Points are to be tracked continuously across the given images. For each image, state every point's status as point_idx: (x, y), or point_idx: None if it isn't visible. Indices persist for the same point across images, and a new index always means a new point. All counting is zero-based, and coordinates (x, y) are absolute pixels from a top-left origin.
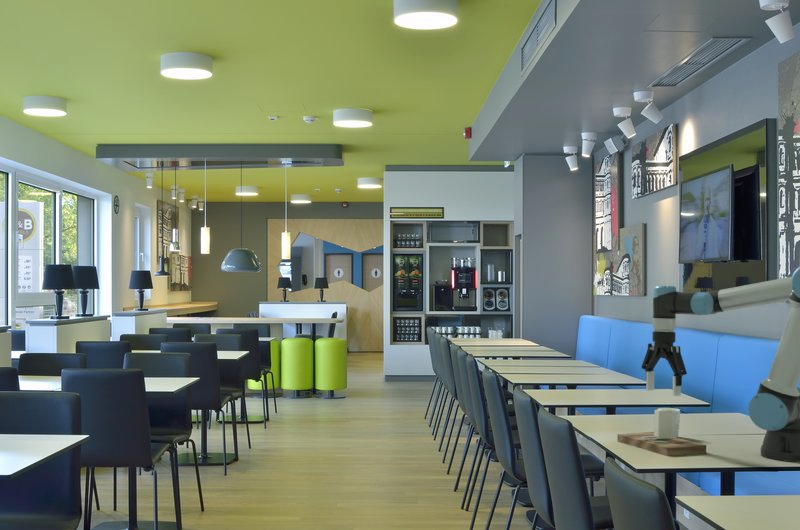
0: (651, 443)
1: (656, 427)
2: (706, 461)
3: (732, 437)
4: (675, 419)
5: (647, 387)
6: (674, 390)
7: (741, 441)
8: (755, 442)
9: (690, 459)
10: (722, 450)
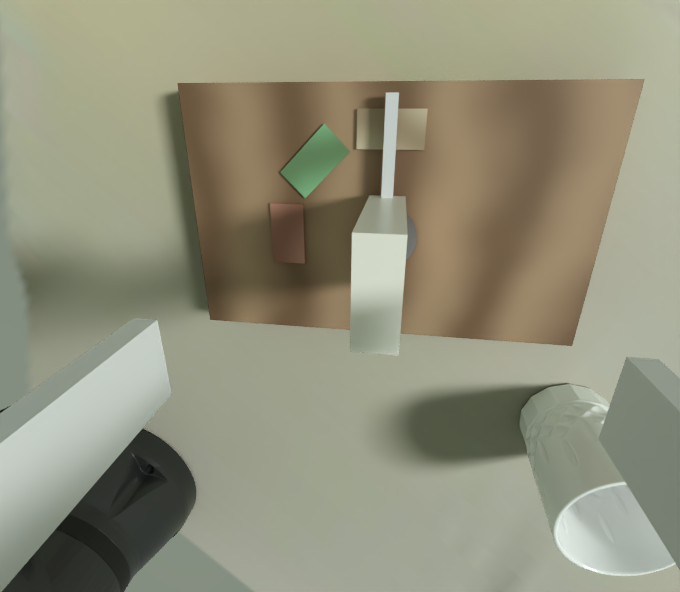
0: (307, 85)
1: (385, 206)
2: (77, 182)
3: (435, 578)
4: (541, 479)
5: (657, 382)
6: (93, 351)
7: (368, 551)
8: (340, 568)
9: (117, 143)
10: (254, 394)
